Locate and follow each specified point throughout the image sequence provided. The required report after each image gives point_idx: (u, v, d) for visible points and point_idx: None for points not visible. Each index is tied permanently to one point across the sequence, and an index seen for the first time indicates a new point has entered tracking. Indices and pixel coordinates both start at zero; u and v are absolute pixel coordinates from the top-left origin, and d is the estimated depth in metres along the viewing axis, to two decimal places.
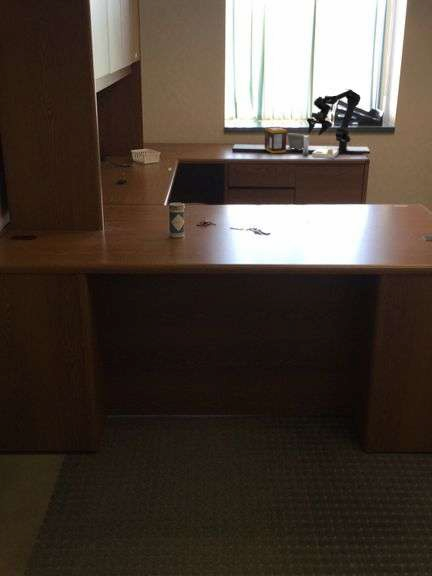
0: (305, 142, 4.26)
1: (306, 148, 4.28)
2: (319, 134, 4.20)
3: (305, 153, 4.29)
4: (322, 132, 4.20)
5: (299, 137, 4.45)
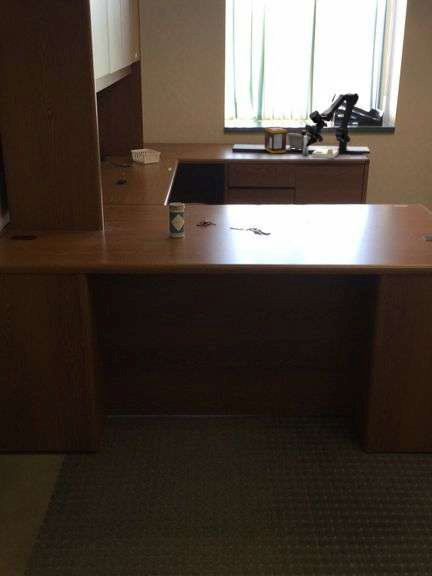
0: (305, 142, 4.26)
1: (306, 148, 4.28)
2: (306, 145, 4.26)
3: (305, 153, 4.29)
4: (310, 144, 4.26)
5: (299, 137, 4.45)
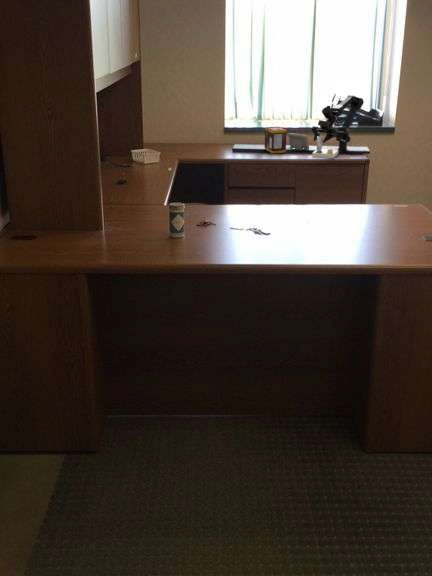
0: (319, 143, 4.24)
1: (320, 149, 4.26)
2: (323, 142, 4.22)
3: None
4: (326, 140, 4.23)
5: (300, 137, 4.45)
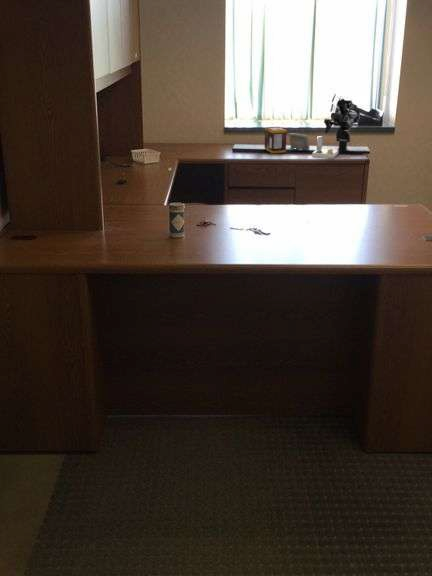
0: (319, 143, 4.24)
1: (320, 149, 4.26)
2: (337, 134, 4.27)
3: None
4: (340, 133, 4.28)
5: (300, 137, 4.45)
